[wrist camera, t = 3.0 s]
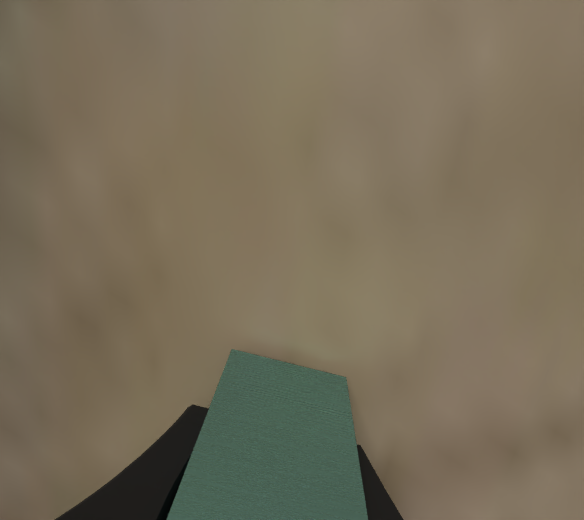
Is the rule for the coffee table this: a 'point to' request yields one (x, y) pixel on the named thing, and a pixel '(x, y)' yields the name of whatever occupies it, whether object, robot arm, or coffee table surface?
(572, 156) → the coffee table surface
